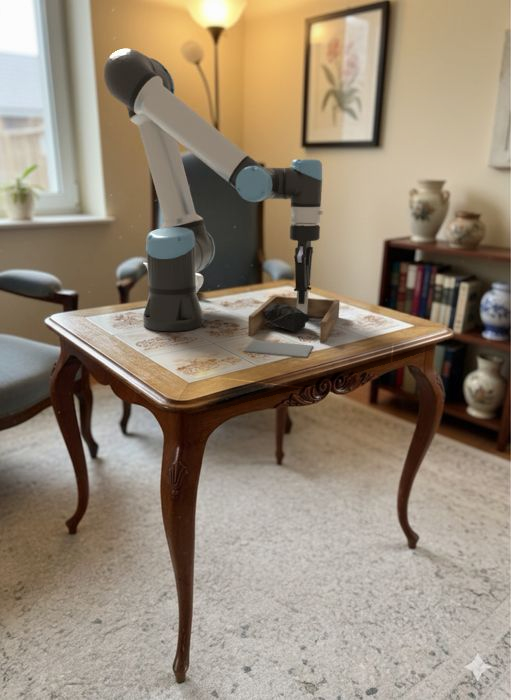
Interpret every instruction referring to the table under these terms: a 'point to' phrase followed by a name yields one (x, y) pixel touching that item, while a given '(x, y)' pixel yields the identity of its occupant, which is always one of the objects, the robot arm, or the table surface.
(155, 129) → the robot arm
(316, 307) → the open wooden frame
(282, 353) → the mat
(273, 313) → the rock
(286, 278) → the table surface
